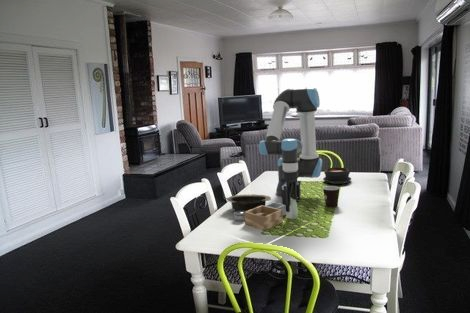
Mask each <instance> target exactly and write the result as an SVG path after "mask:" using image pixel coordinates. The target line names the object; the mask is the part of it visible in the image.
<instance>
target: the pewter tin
mask: <svg viewBox="0 0 470 313" xmlns="http://www.w3.org/2000/svg"><path fill="white" fill-rule="evenodd" d="M244 212H246V211H243V210H239V211H233V215H234V221H235V222H236V223H237V222H238V223H242V222H245V215H244Z"/></svg>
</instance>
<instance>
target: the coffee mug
mask: <svg viewBox="0 0 470 313" xmlns="http://www.w3.org/2000/svg"><path fill="white" fill-rule="evenodd" d="M322 190H323V191H322V192H323V197H324V204H325V207H327V208H330V207H331V209H332V208H338V205H339V195H340V187H339V186H336V185H326V186H323V187H322Z"/></svg>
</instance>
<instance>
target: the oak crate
mask: <svg viewBox="0 0 470 313" xmlns="http://www.w3.org/2000/svg"><path fill="white" fill-rule="evenodd" d="M257 212H259V213H263V214H264V216H261V215H257V214H255V213H257ZM244 215H245V221H244V225H246V226H249V227H254V228H255V229H256V228H257V229H260V230H263V231H266V230H268V229H270V228H273V227H275V226H277V225H280V224H281V223H284V222H283V220H284V219H283V218H284V216H283V215H282V210H281V209H276V208H272V207H267V206H263V205H261V206H259V207H256V208H254V209H251V210H248V211H246V212H244Z"/></svg>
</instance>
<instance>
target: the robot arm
mask: <svg viewBox="0 0 470 313" xmlns="http://www.w3.org/2000/svg"><path fill="white" fill-rule="evenodd" d="M320 100H321V99H320V96H319V92H318V89H317V88H316V87H315V86H313V87H311V86H304V87H290V88H287V89H285V90H283V91H281V93H280V94H278V95H277V96H276V98H275V99H274V102H273V104H272V105H273V106H272V109H273V112H272V115H271V119H270V121H269V122H270V123H269V126H268V130H267V132H266V137H265V139H264V140H260V141H259V143H258V153H259V154H260V155H262V156H263V155H264V156H281V157H280V158H278V160H277V176H278V182H277V185H276V190H275V191H276V192H275V194H276V195H277V196H280V197H281V201H282V202H281V204H283V205H286V215H285V217H286V218H287V219H288V218H292V209H291V205H290V201H291V199H296V211H297V216H298V213H299V212H298V206H299V203H300V201H301V180H298V178H307V179H309V178H311V179H315V178H316V179H317V178H320V176H321V173H322V169H323V168H322V167H323V159H322V158H321V157H320V154H318V153H317V138H316V120H315V118H316V115H315V113H316V112H318V111H317V110H318V109H319V107H320V104H321V102H320ZM291 109H296V113H297V114H298V115H299V126H300V127H299V129H300V130H299V131H300V140H299V139H297V138H284V139H282V140H280V139H281V136H282V133H283V129H284V124H285V121H286V117H287V114H288V113H289V111H290V110H291ZM299 154H300V155H299ZM298 156H299V157H298Z"/></svg>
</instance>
